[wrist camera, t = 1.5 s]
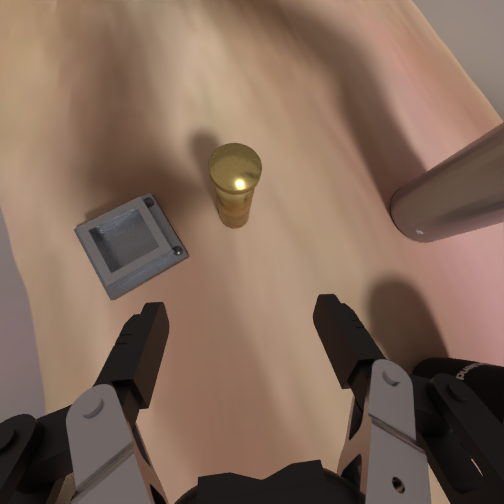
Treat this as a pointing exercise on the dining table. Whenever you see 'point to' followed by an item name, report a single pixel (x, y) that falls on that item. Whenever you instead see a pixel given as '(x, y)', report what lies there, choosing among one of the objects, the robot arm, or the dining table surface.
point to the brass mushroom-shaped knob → (234, 181)
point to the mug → (471, 381)
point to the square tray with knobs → (130, 245)
